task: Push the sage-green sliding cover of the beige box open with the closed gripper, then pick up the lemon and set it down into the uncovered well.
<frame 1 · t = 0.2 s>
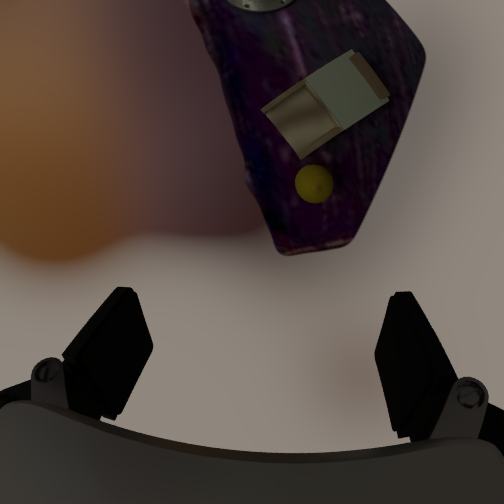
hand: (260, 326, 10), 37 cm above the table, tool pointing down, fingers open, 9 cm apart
lemon: (311, 177, 43), on the table
cover: (350, 87, 31), point 6 cm above the table, slide at 0.0 cm
beige box: (322, 104, 38), on the table
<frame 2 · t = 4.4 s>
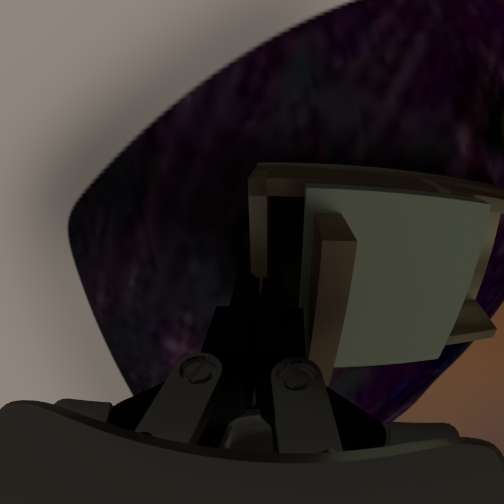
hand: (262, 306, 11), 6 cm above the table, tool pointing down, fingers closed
lemon: (503, 129, 11), on the table
cover: (401, 307, 10), point 6 cm above the table, slide at 2.0 cm, touching gripper
beige box: (391, 243, 16), on the table
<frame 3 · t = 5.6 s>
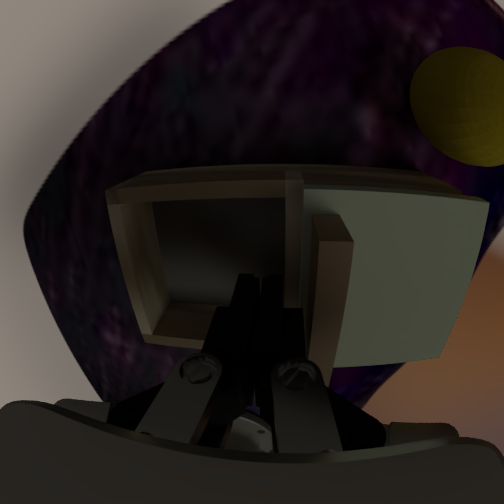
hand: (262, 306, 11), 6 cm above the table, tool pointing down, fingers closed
lemon: (428, 106, 12), on the table
cover: (400, 306, 10), point 6 cm above the table, slide at 8.4 cm, touching gripper
beige box: (285, 241, 16), on the table
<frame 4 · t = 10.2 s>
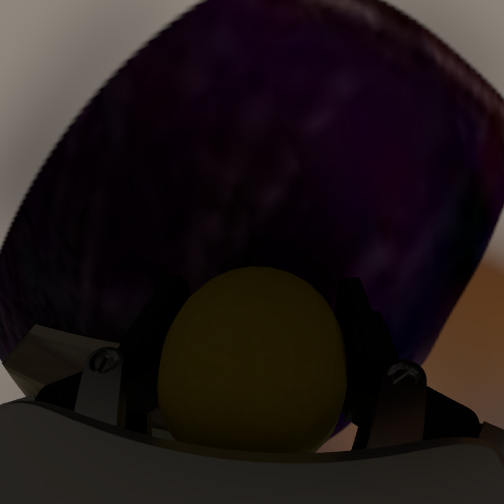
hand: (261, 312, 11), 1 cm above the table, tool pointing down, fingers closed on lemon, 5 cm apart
lemon: (264, 290, 12), on the table, touching gripper
cover: (182, 489, 10), point 6 cm above the table, slide at 8.3 cm
beige box: (140, 389, 16), on the table
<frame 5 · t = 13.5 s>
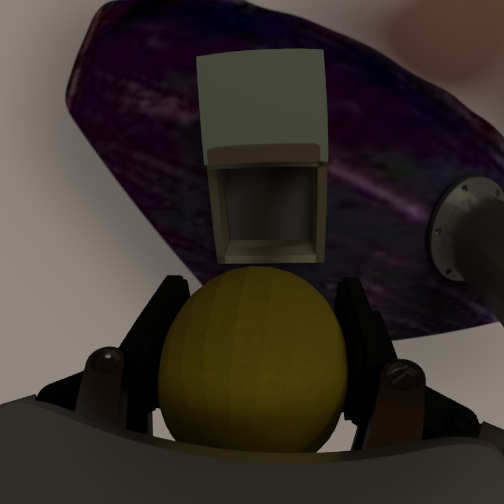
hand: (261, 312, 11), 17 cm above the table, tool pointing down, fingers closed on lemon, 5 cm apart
lemon: (264, 289, 12), point 16 cm above the table, touching gripper
cover: (261, 103, 17), point 6 cm above the table, slide at 8.3 cm
beige box: (268, 159, 24), on the table
when the fingers open (5 cm above the table, at t = 16.3 s): lemon drops 2 cm, resting on beige box.
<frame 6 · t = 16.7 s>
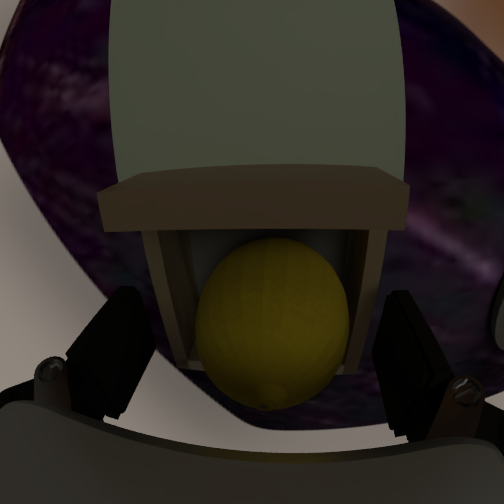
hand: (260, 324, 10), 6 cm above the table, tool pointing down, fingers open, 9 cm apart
lemon: (277, 263, 14), point 1 cm above the table, touching beige box
cover: (244, 60, 6), point 6 cm above the table, slide at 8.3 cm
beige box: (267, 185, 13), on the table
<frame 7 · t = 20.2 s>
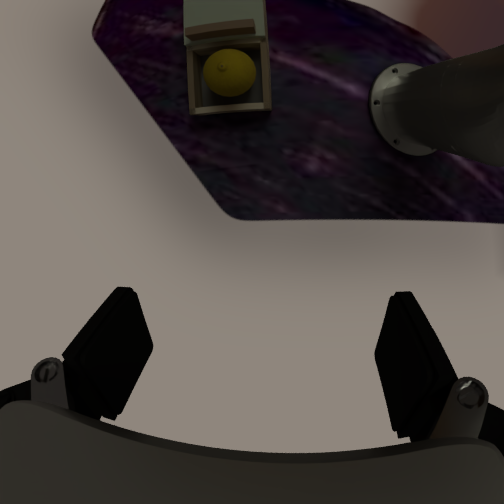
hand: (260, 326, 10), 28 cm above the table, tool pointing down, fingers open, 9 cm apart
lemon: (236, 78, 29), point 1 cm above the table, touching beige box
cover: (220, 6, 21), point 6 cm above the table, slide at 8.3 cm
beige box: (232, 54, 29), on the table
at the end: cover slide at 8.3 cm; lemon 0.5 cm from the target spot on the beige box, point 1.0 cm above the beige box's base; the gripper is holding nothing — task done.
